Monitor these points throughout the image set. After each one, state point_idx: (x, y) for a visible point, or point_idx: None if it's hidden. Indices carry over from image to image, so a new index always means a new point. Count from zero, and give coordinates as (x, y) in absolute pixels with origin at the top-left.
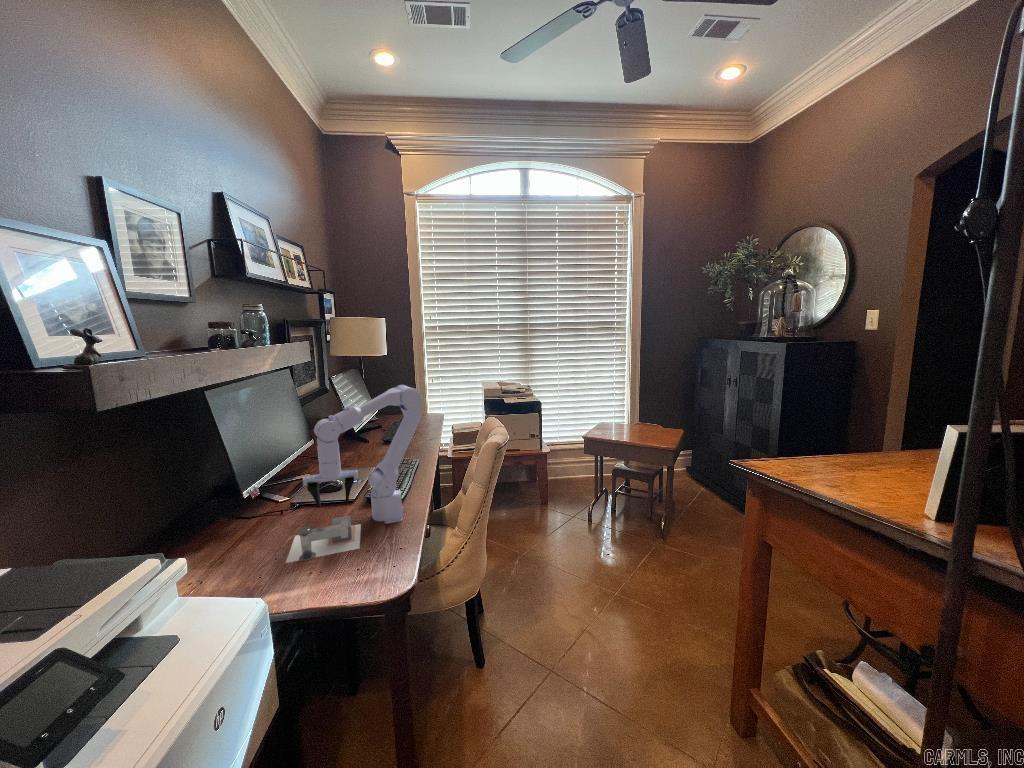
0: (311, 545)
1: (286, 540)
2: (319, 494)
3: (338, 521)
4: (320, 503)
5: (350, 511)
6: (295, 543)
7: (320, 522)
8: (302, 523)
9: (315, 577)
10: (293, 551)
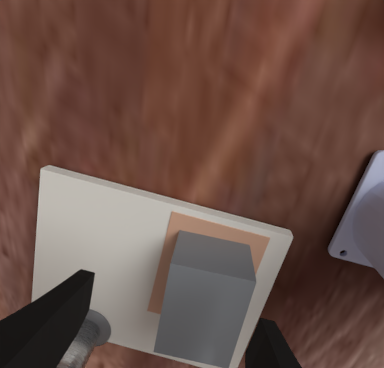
0: (86, 363)
1: (18, 149)
2: (50, 323)
3: (192, 303)
4: (87, 292)
5: (306, 24)
6: (47, 230)
7: (147, 65)
8: (68, 18)
9: None
10: (45, 275)
